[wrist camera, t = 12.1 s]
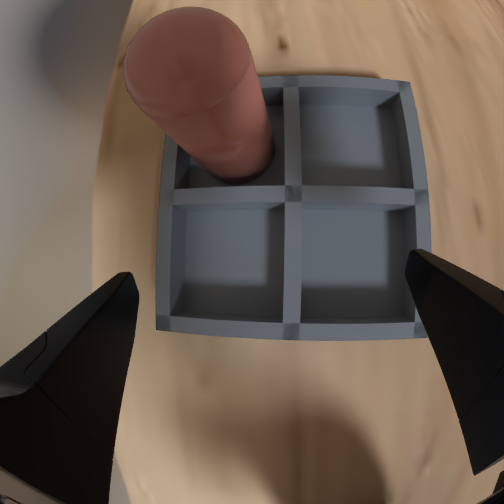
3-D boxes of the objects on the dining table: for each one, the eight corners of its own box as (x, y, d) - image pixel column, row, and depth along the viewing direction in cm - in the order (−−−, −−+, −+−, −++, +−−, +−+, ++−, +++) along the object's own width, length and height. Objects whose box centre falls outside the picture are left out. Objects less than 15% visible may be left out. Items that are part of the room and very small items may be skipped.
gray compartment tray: (412, 328, 19) (427, 337, 16) (174, 322, 22) (155, 329, 19) (399, 101, 20) (409, 82, 17) (186, 105, 23) (172, 87, 20)
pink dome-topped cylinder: (291, 147, 20) (270, 8, 8) (235, 200, 21) (143, 112, 8) (239, 103, 21) (178, -27, 8) (187, 152, 22) (80, 53, 9)
